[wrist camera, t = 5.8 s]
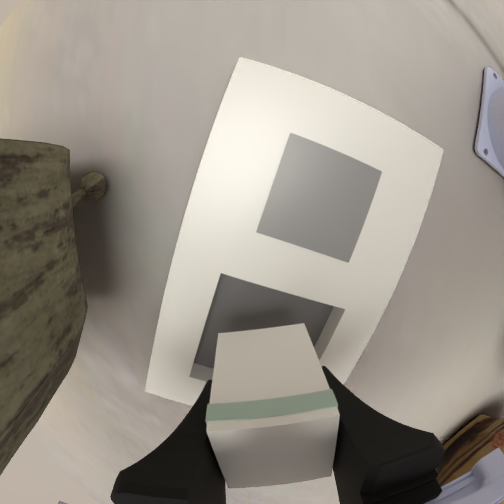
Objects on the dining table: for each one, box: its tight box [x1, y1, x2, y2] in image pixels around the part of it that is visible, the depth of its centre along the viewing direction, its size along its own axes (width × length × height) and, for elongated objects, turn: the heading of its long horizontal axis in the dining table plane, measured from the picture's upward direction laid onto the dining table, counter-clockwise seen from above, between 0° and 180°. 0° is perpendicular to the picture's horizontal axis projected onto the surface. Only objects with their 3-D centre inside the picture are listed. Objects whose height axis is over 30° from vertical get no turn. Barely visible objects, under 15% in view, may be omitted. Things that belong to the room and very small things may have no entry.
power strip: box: [145, 57, 444, 406], centre depth 16 cm, size 12×26×2 cm, turn 162°
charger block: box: [205, 323, 340, 488], centre depth 11 cm, size 4×4×6 cm
